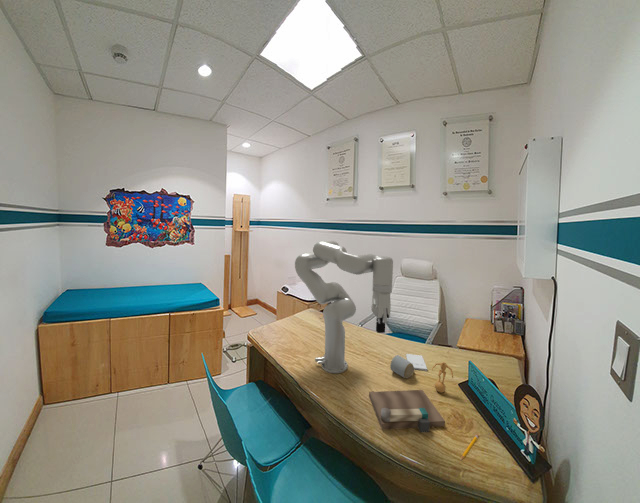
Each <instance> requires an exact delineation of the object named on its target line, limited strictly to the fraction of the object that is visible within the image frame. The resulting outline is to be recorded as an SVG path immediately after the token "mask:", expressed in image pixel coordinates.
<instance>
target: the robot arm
mask: <svg viewBox="0 0 640 503" xmlns="http://www.w3.org/2000/svg"><path fill="white" fill-rule="evenodd" d="M347 252H348V251H347V248H345V247H344V246H342V245H340V244H339V242H337V241H334V240H326V241H325V240H324V241H323V240H321V241H319V242H316V243H315V244H314V245H313V247H312V252H305V253H302V254H299V255H298V256H297V257H296V258H295V261H294V269H295V272H296V274H297V276H298V277H299V279H300V281H302V282H303V283H304V284H305V286H306V287H307V289H308V290H309V292H310V294H312V296H313V298H314V300H315V301H316V302H317V303H319V305H325V307H324V308H323V312H322V315H323V321H324V322H323V323H324V354H323V356H321V357H319V356H317V357H314V358H315V359H314V360H315V363H317V364H318V365H321V368H322V369H323V370H324V372H326V373H330V374H341V373H344V372H345V371H347V369H348V362H347V361H346V360H345V356H346V355H345V350H346V347H345V346H346V330H345V326H344V325H343V321H346V320H348V319H350V318H352V317H353V316H354V315H355V314H356V312H357V306H356V304H355V302H354V301H353V299H352V298H351V297H350V295H349V293H348V292H347V291H346V290H345V289H344V287H343V286H342V285H341V284H339V283H338V282H334V281H333V282H325V281H324V279H323V278H322V276H320V274H318V273H317V272H316V271H314V269H321V268H324V267H325V266H327V265H328V264H330V263H332V264H335V265H336V266H337V267H338V268H339V269H340V270H341V271H344V272H347V273H349V274H353V275H360V276H361V275H364V274H369V273H372V289H371V290H372V298H371V313H372V314H373V315H375V322H376V323H375V331H376V332H377V333H378V334H384V333H386V323H388V319H389V318H390V317H391V306H392V305H391V294H392V293H393V277H394V276H393V275H394V272H393V270H394V260H393V258H392V257H389V256H380V255H376V254H372V253H371V254H370V253H369V254H360V255H354V254H350V253H347Z"/></svg>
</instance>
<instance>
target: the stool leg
mask: <svg viewBox="0 0 640 503" xmlns="http://www.w3.org/2000/svg"><path fill="white" fill-rule="evenodd" d="M381 419H382V421H384V422H396V421H419V419H428V413H427V411H426V410H425V408H419V409H388V408H382V409H381Z"/></svg>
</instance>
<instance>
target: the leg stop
mask: <svg viewBox="0 0 640 503" xmlns="http://www.w3.org/2000/svg"><path fill="white" fill-rule="evenodd" d="M430 428H431V427H430V422H429V420H428V419H419V424H418V428H417V429H418V430H419V433H429V432H430Z"/></svg>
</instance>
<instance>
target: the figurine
mask: <svg viewBox="0 0 640 503" xmlns="http://www.w3.org/2000/svg"><path fill="white" fill-rule="evenodd" d="M436 366H440V369H439V370H438V375H437V376H438V381H436V382H435V385H434V388H435V390H436V391H437V392H438V393H445V391H446V385H445V384H444V382H445V377H446V376H447V372H446V369H448V370H450V372H451V373H450V374H451V378H454V375H453V374H454V373H453V369H452V368H451V367H450V366H449V365H448V364H447V362H444V361H442V362H438V363H435V364H434V365H433V366H432V368H431V371H433V370H434V369H435V368H436ZM441 375H442V381H441Z"/></svg>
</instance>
